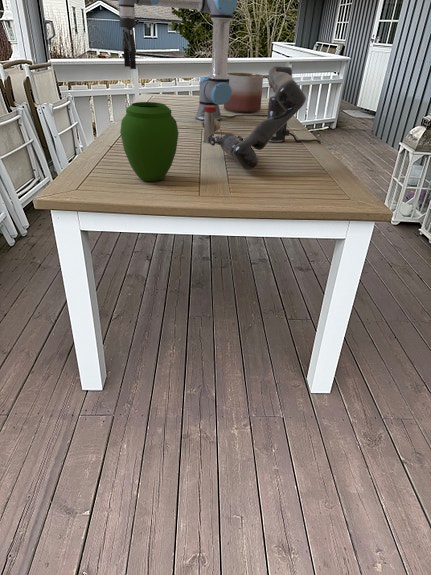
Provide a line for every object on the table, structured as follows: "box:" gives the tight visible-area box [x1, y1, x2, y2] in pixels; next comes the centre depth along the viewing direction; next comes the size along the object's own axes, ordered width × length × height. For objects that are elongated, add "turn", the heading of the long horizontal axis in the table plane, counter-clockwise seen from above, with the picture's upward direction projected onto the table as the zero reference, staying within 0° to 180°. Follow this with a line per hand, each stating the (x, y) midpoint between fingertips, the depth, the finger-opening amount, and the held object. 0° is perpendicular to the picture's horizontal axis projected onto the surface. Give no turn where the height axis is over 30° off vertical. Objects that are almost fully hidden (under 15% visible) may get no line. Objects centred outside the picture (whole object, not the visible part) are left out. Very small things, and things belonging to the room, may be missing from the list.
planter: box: [223, 72, 264, 114], centre depth 276 cm, size 25×25×22 cm
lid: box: [204, 105, 216, 112], centre depth 191 cm, size 6×6×2 cm
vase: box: [119, 101, 179, 182], centre depth 140 cm, size 20×20×24 cm
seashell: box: [202, 118, 221, 133], centre depth 215 cm, size 10×6×8 cm, turn 97°
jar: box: [203, 112, 215, 144], centre depth 195 cm, size 5×5×16 cm
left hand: (130, 67), depth 208 cm, fingers open, 13 cm apart
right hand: (221, 136), depth 178 cm, fingers open, 8 cm apart
